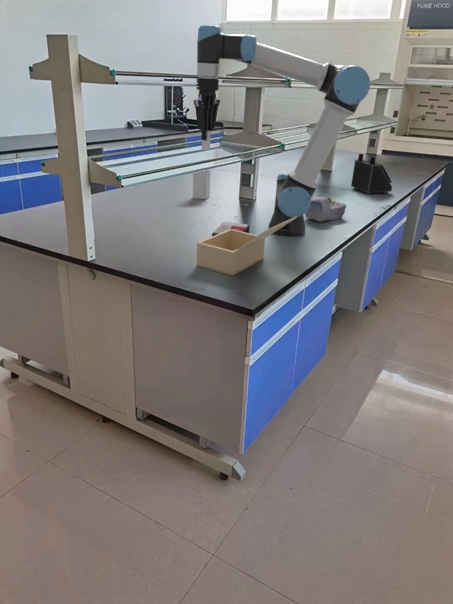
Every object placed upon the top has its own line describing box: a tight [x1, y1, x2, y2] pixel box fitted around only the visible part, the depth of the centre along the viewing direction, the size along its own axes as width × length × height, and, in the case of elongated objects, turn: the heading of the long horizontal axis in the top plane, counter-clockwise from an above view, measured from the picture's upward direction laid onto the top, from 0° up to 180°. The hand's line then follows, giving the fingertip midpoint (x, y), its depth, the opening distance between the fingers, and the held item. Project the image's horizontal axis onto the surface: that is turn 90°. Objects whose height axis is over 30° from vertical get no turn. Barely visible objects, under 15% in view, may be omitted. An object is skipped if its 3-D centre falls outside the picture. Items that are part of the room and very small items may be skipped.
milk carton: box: [192, 169, 211, 200], centre depth 242 cm, size 7×7×19 cm
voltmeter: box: [350, 153, 393, 195], centre depth 276 cm, size 16×16×20 cm
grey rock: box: [304, 195, 347, 223], centre depth 219 cm, size 13×11×20 cm
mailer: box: [196, 229, 266, 277], centre depth 163 cm, size 20×14×8 cm
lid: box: [234, 216, 297, 253], centre depth 153 cm, size 20×14×1 cm
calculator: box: [211, 221, 250, 237], centre depth 190 cm, size 11×4×15 cm
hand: (205, 149), depth 176 cm, fingers closed
